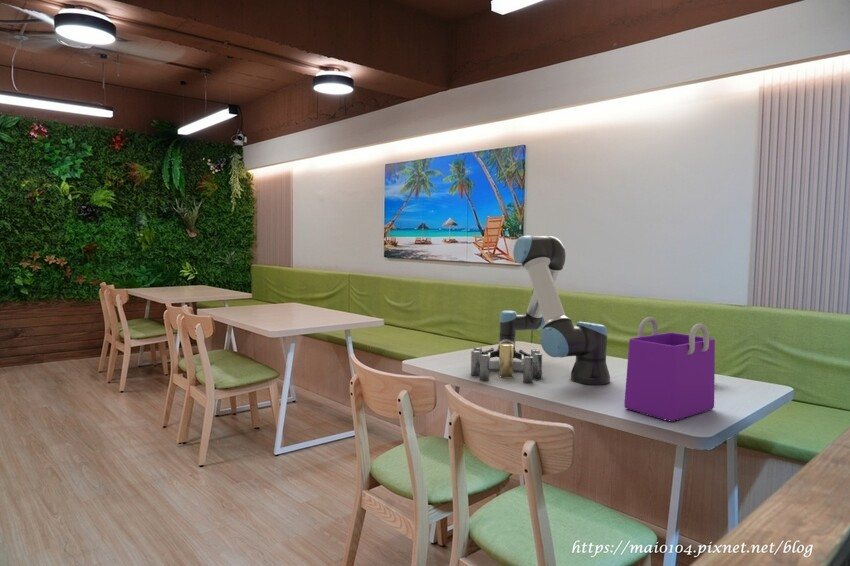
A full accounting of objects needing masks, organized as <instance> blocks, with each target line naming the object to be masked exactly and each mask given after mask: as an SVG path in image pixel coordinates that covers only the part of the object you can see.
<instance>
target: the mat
mask: <svg viewBox="0 0 850 566" xmlns="http://www.w3.org/2000/svg"><path fill="white" fill-rule="evenodd" d="M523 366H524V365H522V361H521V362H520V361H513V373H523ZM489 372H499V360H497V361H496V360H490V362H489Z"/></svg>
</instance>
